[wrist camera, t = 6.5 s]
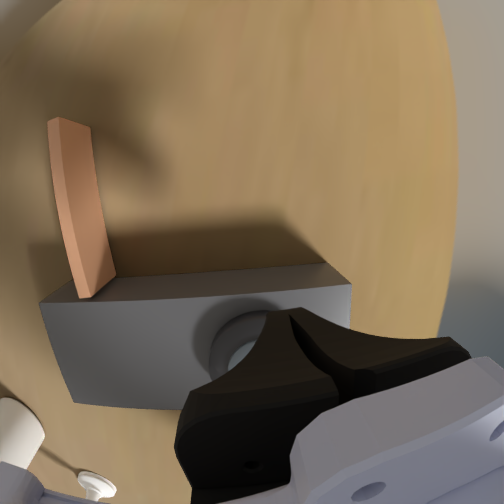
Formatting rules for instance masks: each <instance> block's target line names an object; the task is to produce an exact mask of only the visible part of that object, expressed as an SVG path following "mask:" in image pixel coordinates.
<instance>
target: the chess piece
mask: <svg viewBox="0 0 504 504" xmlns="http://www.w3.org/2000/svg"><path fill="white" fill-rule="evenodd" d="M78 481H79V483H80V484H81V486H82V487H84V488H85V490H86V491H87V492H86V499H88V500H92V501H98V500H99V498H101V497H112V496H114V495H115V492H116V487H115V486H114V485H113V484H112V483H111V482H110V481H109V480H107V479H106V478H104V477H102V476H100V475H98V474H95V473H92V472H88V471H82V472H80V473H79V475H78Z"/></svg>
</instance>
